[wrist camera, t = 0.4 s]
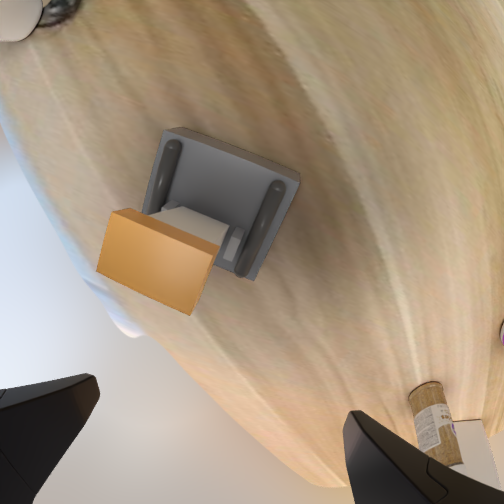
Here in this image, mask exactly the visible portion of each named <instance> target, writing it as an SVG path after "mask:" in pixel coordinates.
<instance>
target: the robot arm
mask: <svg viewBox="0 0 504 504" xmlns="http://www.w3.org/2000/svg"><path fill="white" fill-rule="evenodd" d="M99 397H100V391H99V387H98V383H97V380H96V377H95V376H94V375H91V374H87V373H85V374H80V375H75V376H70V377H66V378H61V379H57V380H52V381H47V382H42V383H36V384H31V385H26V386H20V387H15V388H8V389H1V390H0V504H32V503H33V500H34V498H35V496H36V494H37V493H38V492H39V490H40V489H41V487H42V486H43V484H44V483H45V481H46V480H47V478H48V477H49V475H50V474H51V472H52V471H53V469H54V468H55V467H56V465H57V464H58V462H59V461H60V459H61V458H62V456H63V455H64V454H65V452H66V451H67V449H68V448H69V446H70V445H71V444H72V442H73V441H74V439H75V438H76V437H77V435H78V433H79V432H80V431H81V429H82V428H83V427H84V425H85V423H86V422H87V420H88V418H89V416H90V415H91V413H92V411H93V409H94V407H95V405H96V403H97V402H98V400H99ZM343 439H344V449H345V460H346V467H347V471H348V476H349V480H350V484H351V488H352V493H353V497H354V501H355V504H504V492H503V491H501V490H498V489H496V488H493V487H491V486H489V485H486V484H484V483H481V482H479V481H477V480H474V479H472V478H470V477H468V476H465V475H463V474H461V473H459V472H457V471H455V470H453V469H451V468H449V467H447V466H446V465H444V464H442V463H440V462H439V461H437V460H435V459H434V458H432V457H429V456H428V455H427V454H425V453H424V452H422V451H420V450H419V449H417V448H416V447H414V446H413V445H411V444H410V443H408V442H407V441H405V440H404V439H402V438H401V437H399V436H398V435H396V434H395V433H393V432H392V431H390V430H389V429H387V428H386V427H384V426H383V425H381V424H380V423H378V422H377V421H376V420H374V419H373V418H371V417H370V416H368V415H367V414H366V413H364V412H363V411H361V410H355V411H350V412H349V413H348V416H347V419H346V421H345V424H344V427H343Z"/></svg>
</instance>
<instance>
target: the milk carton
mask: <svg viewBox="0 0 504 504" xmlns="http://www.w3.org/2000/svg"><path fill="white" fill-rule="evenodd" d="M453 424H454V428H455V432H456V435H457V441H458V444H459V449H460V453H461V457H462V461H463V462H464V465H465V466H466V470H467V475H468V477H470V478H472V479H474V480H477V481H479V482H481V483H484V484H486V485H489V486H491V487H493V488H496V489H498V490H501V486H500V482H499V478H498V474H497V469H496V466H495V462H494V458H493V455H492V451H491V448H490V445H489V442H488V438H487V435H486V432H485V429H484V426H483V423H482V420H473V421H461V422H453Z"/></svg>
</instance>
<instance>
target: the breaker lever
mask: <svg viewBox="0 0 504 504" xmlns="http://www.w3.org/2000/svg"><path fill="white" fill-rule="evenodd" d="M229 226H230V225H227V224H225V223H222V222H220V221H218V220H215V219H213V218H210V217H208V216H206V215H203V214H201V213H198V212H196V211H193V210H191V209H189V208H186V207H184V206H182V207H178V208H174V209H170V210H166V211H162V212H158V213H155V214H151V215H145V214H143V213H140V212H138V211H136V210H133V209H131V208H128V209H123V210H118V211H113V212H112V213H111V216H110V219H109V223H108V226H107V230H106V234H105V237H104V241H103V245H102V249H101V253H100V257H99V261H98V266H97V270H96V271H97V272H99V273H101V274H103V275H104V276H106V277H108V278H110V279H112V280H114V281H116V282H118V283H120V284H122V285H124V286H126V287H128V288H130V289H133V290H135V291H137V292H139V293H141V294H143V295H145V296H147V297H149V298H151V299H154V300H156V301H158V302H160V303H162V304H164V305H167V306H169V307H171V308H173V309H176V310H178V311H180V312H182V313H185V314H187V315H189V316H190V315H191V313H192V311H193V310H194V308H195V306H196V304H197V303H198V301H199V299H200V296H201V294H202V291H203V288H204V286H205V283H206V281H207V278H208V276H209V273H210V271H211V268H212V266H213V263H214V261H215V258H216V255H217V254H218V252H219V250H220V248H221V245H222V243H223V240H224V238H225V235H226V233H227V230H228V228H229Z"/></svg>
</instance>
